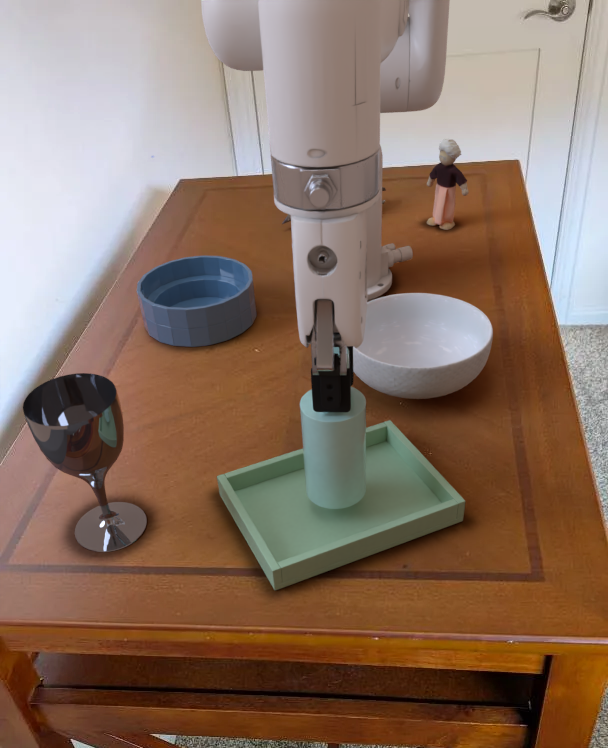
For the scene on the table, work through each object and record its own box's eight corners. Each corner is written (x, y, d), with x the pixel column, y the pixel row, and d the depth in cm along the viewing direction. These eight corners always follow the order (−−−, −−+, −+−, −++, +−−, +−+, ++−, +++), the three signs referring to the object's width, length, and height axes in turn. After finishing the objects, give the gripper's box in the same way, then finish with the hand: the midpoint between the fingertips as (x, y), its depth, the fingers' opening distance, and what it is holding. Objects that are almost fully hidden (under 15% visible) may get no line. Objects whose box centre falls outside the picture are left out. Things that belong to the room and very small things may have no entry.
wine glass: (75, 503, 79) (31, 377, 68) (153, 496, 79) (120, 369, 68) (65, 559, 73) (14, 430, 62) (148, 550, 73) (112, 421, 63)
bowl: (234, 287, 111) (228, 246, 107) (273, 333, 101) (269, 290, 97) (133, 313, 107) (124, 272, 103) (164, 363, 97) (155, 320, 93)
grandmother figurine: (416, 225, 122) (420, 139, 114) (427, 216, 125) (432, 131, 116) (460, 234, 119) (467, 147, 110) (471, 225, 121) (479, 139, 112)
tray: (389, 439, 83) (390, 419, 81) (463, 521, 74) (465, 500, 72) (219, 495, 78) (216, 475, 76) (274, 591, 69) (272, 571, 67)
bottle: (349, 463, 77) (346, 327, 66) (376, 497, 73) (378, 358, 63) (296, 481, 75) (285, 344, 65) (321, 516, 72) (313, 378, 61)
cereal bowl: (470, 433, 83) (477, 376, 78) (325, 409, 88) (322, 354, 83) (498, 352, 94) (505, 298, 89) (368, 335, 99) (368, 283, 94)
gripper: (375, 224, 48) (373, 457, 61) (382, 137, 59) (380, 348, 72) (256, 226, 49) (279, 455, 61) (286, 139, 60) (300, 348, 73)
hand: (333, 395), depth 67 cm, fingers closed on bottle, 3 cm apart
